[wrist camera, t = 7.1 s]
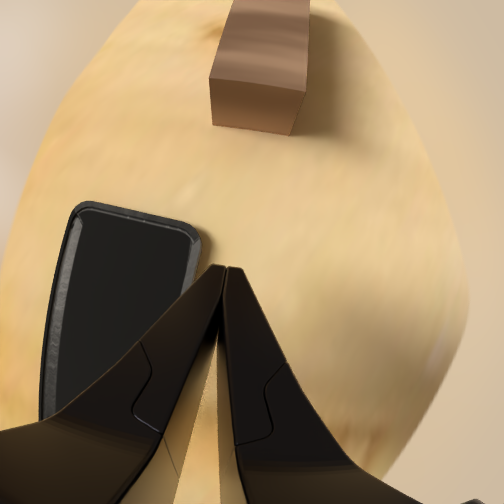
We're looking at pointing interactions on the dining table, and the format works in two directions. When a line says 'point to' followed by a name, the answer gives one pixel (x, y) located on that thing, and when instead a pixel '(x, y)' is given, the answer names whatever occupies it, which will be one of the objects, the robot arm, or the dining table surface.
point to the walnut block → (261, 66)
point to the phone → (109, 293)
